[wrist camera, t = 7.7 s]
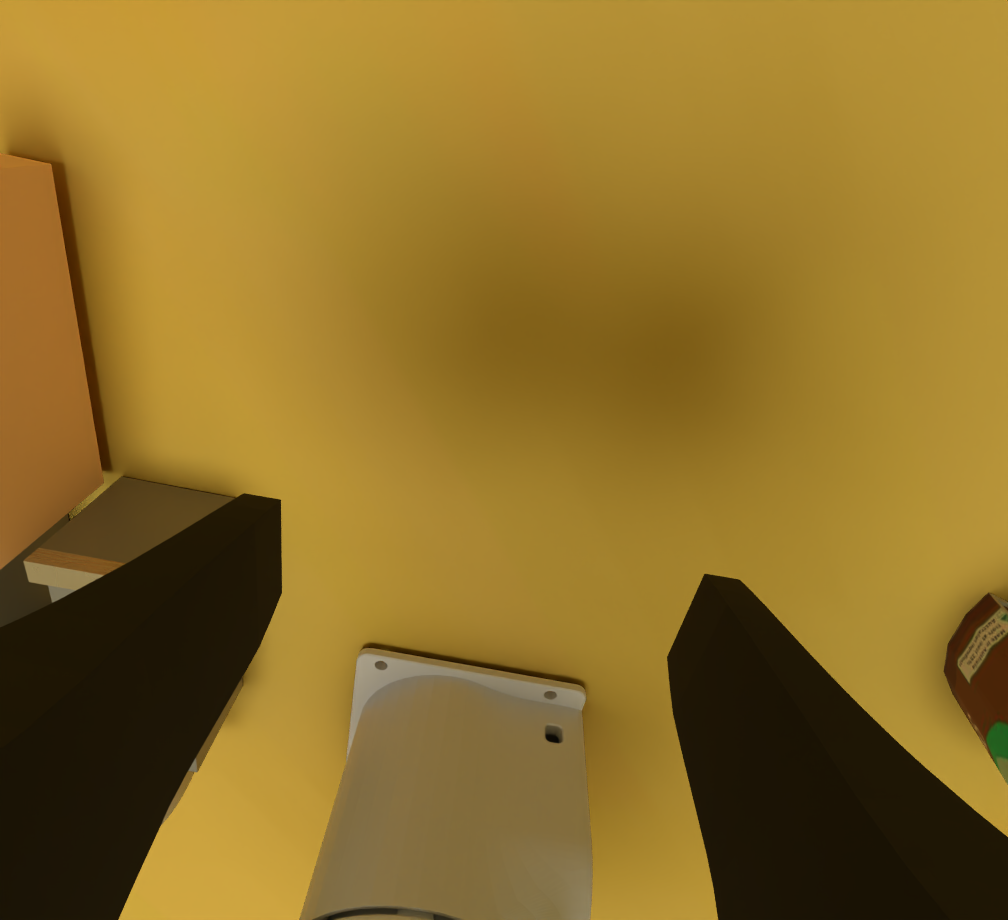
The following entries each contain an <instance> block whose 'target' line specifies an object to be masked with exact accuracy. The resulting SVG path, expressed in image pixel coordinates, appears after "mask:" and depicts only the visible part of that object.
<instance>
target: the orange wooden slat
mask: <svg viewBox="0 0 1008 920" xmlns="http://www.w3.org/2000/svg"><path fill="white" fill-rule="evenodd" d="M103 483H104V480H103V474H102V468H101V462H100V456H99V450H98V444H97V438H96V432H95V426H94V420H93V414H92V407H91V401H90V395H89V389H88V383H87V377H86V371H85V365H84V359H83V353H82V347H81V341H80V335H79V329H78V323H77V317H76V311H75V305H74V299H73V293H72V287H71V280H70V274H69V268H68V262H67V256H66V250H65V244H64V238H63V232H62V226H61V220H60V214H59V208H58V202H57V196H56V190H55V184H54V178H53V172H52V166H51V164H49V163H44V162H40V161H35V160H30V159H26V158H21V157H16V156H12V155H7V154H2V153H0V570H1V569H2V568H3V567H4V566H5V565H7V564H8V563H9V562H10V561H11V560H13V559H14V558H15V557H16V556H17V555H18V554H20V553H21V552H22V551H23V550H24V549H26V548H27V547H28V546H29V545H30V544H32V543H33V542H34V541H35V540H36V539H38V538H39V537H40V536H41V535H42V534H44V533H45V532H46V531H47V530H48V529H50V528H51V527H52V526H53V525H54V524H56V523H57V522H58V521H59V520H60V519H61V518H63V517H64V516H65V515H66V514H67V513H69V512H70V511H71V510H72V509H73V508H75V507H76V506H77V505H78V504H79V503H81V502H82V501H83V500H84V499H85V498H87V497H88V496H89V495H90V494H91V493H93V492H94V491H95V490H96V489H97V488H99V487H100V486H101V485H102V484H103Z"/></svg>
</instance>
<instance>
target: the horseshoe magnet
mask: <svg viewBox="0 0 1008 920" xmlns="http://www.w3.org/2000/svg"><path fill="white" fill-rule="evenodd" d="M233 499H235V498H233V497H227V496H222V495H217V494H211V493H206V492H201V491H195V490H190V489H185V488H180V487H174V486H169V485H164V484H158V483H153V482H148V481H142V480H137V479H132V478H127V477H121V478H119V479H118V480H117V481H116V482H115V483H114V484H112V485H111V486H110V487H109V488H108V489H107V490H105V491H104V492H103V493H102V494H101V495H100V496H98V497H97V498H96V499H95V500H94V501H93V502H91V503H90V504H89V505H88V506H87V507H86V508H84V509H83V510H82V511H81V512H80V513H79V514H77V515H76V516H75V517H74V518H73V519H72V520H70V521H69V517H68V513H67V514H66V515H65V516H64V517H63V518H61V519H60V520H59V521H58V522H57V523H56V524H54V525H53V526H52V527H51V528H50V529H48V530H47V531H46V532H45V533H44V534H42V535H41V536H40V537H39V538H38V539H36V540H35V541H34V542H33V543H32V544H30V545H29V546H28V547H27V548H26V549H24V550H23V551H22V552H21V553H20V554H18V555H17V556H16V557H15V558H14V559H13V560H11V561H10V562H9V563H8V564H7V565H5V566H4V567H3V568H2V569H1V570H0V627H2V626H5V625H7V624H9V623H11V622H13V621H16V620H18V619H20V618H22V617H24V616H26V615H28V614H30V613H32V612H35V611H37V610H39V609H41V608H43V607H45V606H47V605H49V604H51V603H53V602H55V601H57V600H59V599H61V598H63V597H65V596H66V595H68V594H70V593H72V592H74V591H76V590H78V589H80V588H81V587H83V586H85V585H87V584H89V583H91V582H93V581H94V580H96V579H98V578H100V577H102V576H104V575H106V574H107V573H109V572H111V571H113V570H115V569H117V568H119V567H120V566H122V565H124V564H126V563H128V562H130V561H131V560H133V559H135V558H137V557H138V556H140V555H142V554H143V553H145V552H147V551H149V550H150V549H152V548H154V547H155V546H157V545H159V544H160V543H162V542H164V541H165V540H167V539H169V538H171V537H172V536H174V535H176V534H177V533H179V532H181V531H182V530H184V529H186V528H187V527H189V526H191V525H192V524H194V523H195V522H197V521H199V520H200V519H202V518H204V517H205V516H207V515H208V514H210V513H212V512H213V511H215V510H217V509H218V508H220V507H222V506H223V505H225V504H227V503H228V502H230V501H232V500H233ZM242 686H243V678H241V680H240V682H239V684H238V685H237V687H236V689H235V691H234V692H233V694H232V696H231V698H230V699H229V701H228V703H227V705H226V706H225V708H224V710H223V711H222V713H221V715H220V717H219V718H218V720H217V722H216V724H215V725H214V727H213V729H212V731H211V732H210V734H209V736H208V737H207V739H206V741H205V743H204V744H203V746H202V748H201V750H200V751H199V753H198V755H197V757H196V758H195V760H194V762H193V763H192V765H191V767H190V769H189V770H188V772H187V774H186V776H185V778H184V780H183V782H182V783H181V785H180V787H179V789H178V791H177V793H176V795H175V797H174V799H173V801H172V802H171V804H170V806H169V809H168V811H167V813H166V815H165V817H164V819H163V822H164V821H165V820H166V819H167V818H168V817H169V815H170V814H171V813H172V811H173V810H174V808H175V807H176V806H177V804H178V802H179V801H180V799H181V797H182V796H183V794H184V792H185V790H186V789H187V787H188V785H189V783H190V781H191V779H192V776H193V774H194V772H198V770H199V768H200V766H201V764H202V762H203V761H204V759H205V757H206V755H207V753H208V751H209V749H210V747H211V745H212V743H213V741H214V739H215V738H216V736H217V734H218V732H219V730H220V728H221V726H222V724H223V722H224V720H225V718H226V717H227V715H228V713H229V711H230V709H231V707H232V705H233V703H234V701H235V699H236V697H237V695H238V694H239V692H240V690H241V688H242ZM163 822H162V824H163ZM162 824H161V825H162Z"/></svg>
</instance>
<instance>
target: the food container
mask: <svg viewBox="0 0 1008 920" xmlns="http://www.w3.org/2000/svg"><path fill="white" fill-rule="evenodd" d="M944 673H945V676H946V678H947V681H948V683H949V686H950V688H951V691H952V693H953V695H954V697H955V698H956V700H957V702H958V703H959V705H960V707H961V708H962V710H963V712H964V713H965V715H966V717H967V718H968V720H969V722H970V723H971V725H972V727H973V728H974V730H975V731H976V733H977V735H978V736H979V738H980V740H981V741H982V743H983V745H984V746H985V748H986V750H987V751H988V753H989V755H990V756H991V758H992V760H993V761H994V763H995V764H996V766H997V768H998V769H999V771H1000V773H1001V774H1002V776H1003V778H1004V779H1005V781H1006V783H1007V784H1008V601H1006V600H1004V599H1001V598H999V597H997V596H995V595H992V594H990V593H988V594H987V595H986V596H985V597H984V598H983V599H982V600H981V601H980V602H978V603H977V604H976V605H975V606H974V607H973V608H972V609H971V610H970V611H969V612H968V613H967V614H966V615H965V617H964V619H963V620H962V622H961V624H960V625H959V627H958V628H957V630H956V632H955V633H954V635H953V637H952V638H951V640H950V642H949V643H948V647H947V653H946V660H945V666H944Z"/></svg>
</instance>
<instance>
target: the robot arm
mask: <svg viewBox="0 0 1008 920" xmlns="http://www.w3.org/2000/svg"><path fill="white" fill-rule="evenodd" d="M281 594H282V560H281V500H279V499H273V498H267V497H262V496H256V495H250V494H242V495H240V496H239V497H237V498H235V499H233V500H232V501H230V502H228V503H227V504H225V505H223V506H222V507H220V508H218V509H217V510H215V511H213V512H212V513H210V514H208V515H207V516H205V517H204V518H202V519H200V520H199V521H197V522H195V523H194V524H192V525H191V526H189V527H187V528H186V529H184V530H182V531H181V532H179V533H177V534H176V535H174V536H172V537H171V538H169V539H167V540H165V541H164V542H162V543H160V544H159V545H157V546H155V547H154V548H152V549H150V550H149V551H147V552H145V553H143V554H142V555H140V556H138V557H137V558H135V559H133V560H131V561H130V562H128V563H126V564H124V565H122V566H120V567H119V568H117V569H115V570H113V571H111V572H109V573H107V574H106V575H104V576H102V577H100V578H98V579H96V580H94V581H93V582H91V583H89V584H87V585H85V586H83V587H81V588H80V589H78V590H76V591H74V592H72V593H70V594H68V595H66V596H65V597H63V598H61V599H59V600H57V601H55V602H53V603H51V604H49V605H47V606H45V607H43V608H41V609H39V610H37V611H35V612H32V613H30V614H28V615H26V616H24V617H22V618H20V619H18V620H16V621H13V622H11V623H9V624H7V625H5V626H2V627H0V920H118V919H119V917H120V914H121V912H122V910H123V908H124V905H125V903H126V901H127V898H128V896H129V894H130V892H131V889H132V887H133V885H134V883H135V880H136V878H137V876H138V874H139V871H140V869H141V867H142V865H143V863H144V861H145V858H146V856H147V854H148V852H149V850H150V848H151V845H152V843H153V841H154V839H155V837H156V835H157V832H158V830H159V828H160V826H161V824H162V822H163V819H164V817H165V815H166V813H167V811H168V809H169V806H170V804H171V802H172V801H173V799H174V797H175V795H176V793H177V791H178V789H179V787H180V785H181V783H182V782H183V780H184V778H185V776H186V774H187V772H188V770H189V769H190V767H191V765H192V763H193V762H194V760H195V758H196V757H197V755H198V753H199V751H200V750H201V748H202V746H203V744H204V743H205V741H206V739H207V737H208V736H209V734H210V732H211V731H212V729H213V727H214V725H215V724H216V722H217V720H218V718H219V717H220V715H221V713H222V711H223V710H224V708H225V706H226V705H227V703H228V701H229V699H230V698H231V696H232V694H233V692H234V691H235V689H236V687H237V685H238V684H239V682H240V680H241V678H242V677H243V675H244V673H245V671H246V670H247V668H248V666H249V664H250V663H251V661H252V659H253V657H254V655H255V654H256V652H257V650H258V648H259V646H260V644H261V642H262V639H263V637H264V635H265V632H266V630H267V628H268V625H269V623H270V621H271V618H272V616H273V613H274V611H275V608H276V606H277V603H278V601H279V599H280V596H281ZM381 661H383V662H381ZM667 661H668V672H669V682H670V692H671V700H672V708H673V715H674V720H675V724H676V729H677V733H678V737H679V742H680V746H681V750H682V754H683V759H684V763H685V767H686V771H687V775H688V779H689V783H690V787H691V792H692V796H693V800H694V804H695V808H696V812H697V816H698V820H699V824H700V828H701V832H702V837H703V841H704V845H705V849H706V853H707V858H708V863H709V868H710V873H711V877H712V882H713V888H714V894H715V901H716V908H717V914H718V920H1008V837H1007V836H1006V835H1004V834H1003V833H1002V832H1001V831H999V830H998V829H997V828H996V827H994V826H993V825H992V824H991V823H990V822H988V821H987V820H986V819H985V818H983V817H982V816H981V815H980V814H979V813H977V812H976V811H975V810H974V809H973V808H971V807H970V806H969V805H968V804H967V803H966V802H964V801H963V800H962V799H961V798H960V797H959V796H958V795H956V794H955V793H954V792H953V791H952V790H951V789H949V788H948V787H947V786H946V785H945V784H944V783H942V782H941V781H940V780H939V779H938V778H937V777H936V776H934V775H933V774H932V773H931V772H930V771H929V770H927V769H926V768H925V767H924V766H923V765H922V764H921V763H920V762H919V761H917V760H916V759H915V758H914V757H913V756H912V755H911V754H910V753H909V752H908V751H906V750H905V749H904V748H903V747H902V746H901V745H900V744H899V743H898V742H897V741H896V740H895V739H894V738H893V737H892V736H891V735H890V734H889V733H888V732H886V731H885V730H884V729H883V728H882V727H881V726H880V725H879V724H878V723H877V722H876V721H875V720H874V719H873V718H872V717H871V716H870V715H869V714H868V713H867V712H866V711H865V710H864V709H863V708H862V707H861V706H860V705H859V704H858V703H857V702H856V701H855V700H854V699H853V698H852V697H851V696H850V695H849V694H848V693H847V692H846V691H845V690H844V689H843V688H842V687H841V686H840V685H839V684H838V683H837V682H836V681H835V680H834V679H833V678H832V677H831V676H830V675H829V674H828V673H827V672H826V670H825V669H824V668H823V667H822V666H821V665H820V664H819V663H818V662H817V661H816V660H815V659H814V658H813V657H812V656H811V655H810V654H809V652H808V651H807V650H806V649H805V648H804V647H803V646H802V645H801V644H800V643H799V642H798V641H797V640H796V638H795V637H794V636H793V635H792V634H791V633H790V632H789V631H788V630H787V629H786V628H785V627H784V625H783V624H782V623H781V622H780V621H779V620H778V619H777V618H776V617H775V616H774V615H773V614H772V612H771V611H770V610H769V609H768V608H767V607H766V606H765V605H764V604H763V603H762V602H761V601H760V600H759V599H758V598H757V597H756V595H755V594H754V593H753V592H752V591H751V590H750V589H749V588H748V587H747V586H746V585H745V584H743V583H742V582H741V581H740V580H738V579H733V578H727V577H721V576H715V575H710V574H704V576H703V579H702V581H701V583H700V585H699V587H698V590H697V592H696V594H695V596H694V599H693V601H692V603H691V605H690V607H689V610H688V612H687V614H686V616H685V619H684V621H683V623H682V625H681V627H680V630H679V632H678V634H677V636H676V639H675V641H674V643H673V645H672V647H671V650H670V652H669V654H668V656H667ZM549 691H552V692H549ZM585 702H586V691H585V689H584V688H583V687H582V686H580V685H577V684H572V683H566V682H561V681H555V680H549V679H544V678H538V677H533V676H527V675H521V674H516V673H510V672H504V671H499V670H493V669H487V668H482V667H476V666H471V665H465V664H459V663H454V662H448V661H442V660H437V659H431V658H426V657H420V656H414V655H409V654H403V653H397V652H392V651H386V650H380V649H375V648H365V649H362V650H361V651H360V653H359V655H358V658H357V663H356V673H355V682H354V692H353V701H352V711H351V720H350V730H349V739H348V749H347V758H346V765H345V769H344V772H343V775H342V779H341V782H340V785H339V789H338V792H337V795H336V799H335V802H334V805H333V809H332V812H331V816H330V819H329V822H328V826H327V829H326V832H325V836H324V839H323V842H322V846H321V849H320V852H319V856H318V859H317V862H316V866H315V869H314V872H313V876H312V879H311V882H310V886H309V889H308V892H307V896H306V899H305V902H304V906H303V909H302V913H301V916H300V919H299V920H590V916H591V902H592V876H593V868H592V841H591V827H590V813H589V800H588V786H587V772H586V759H585V745H584V731H583V718H582V709H583V706H584V704H585Z"/></svg>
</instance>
